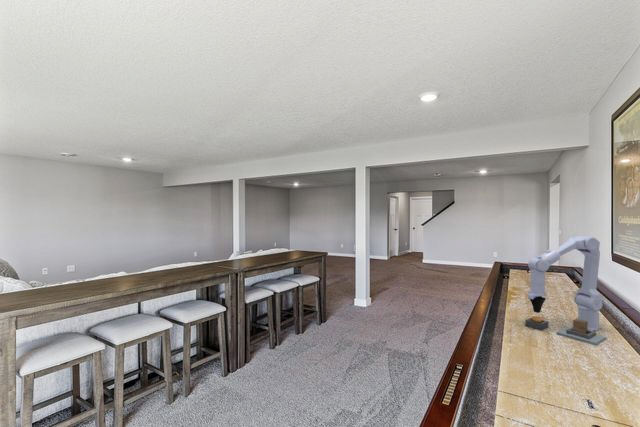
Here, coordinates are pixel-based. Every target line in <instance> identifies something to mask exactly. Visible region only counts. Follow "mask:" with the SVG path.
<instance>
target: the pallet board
mask: <svg viewBox="0 0 640 427" xmlns="http://www.w3.org/2000/svg"><path fill="white" fill-rule="evenodd" d="M555 333H556V335H557V336H561V337H564V338H568V339H571V340H575V341H580V342H583V343H587V344H590V345H594V346H598V345H599V344H601V343H602V342H605V341H606V340H607V336H606V335H602V334H597V332H596V331H593V330H589V329H588V334H583V333H579V332H576V331H573V326H571V327H570V326H566V327H564V328H562V329H560V330H557V331H556V332H555Z"/></svg>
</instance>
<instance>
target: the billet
mask: <svg viewBox="0 0 640 427" xmlns="http://www.w3.org/2000/svg"><path fill="white" fill-rule="evenodd" d="M572 327H573V331H576V332H579V333H583V334H588V330H589V329H588V321H585V320H581V319H578V318H574V319H573V322H572Z"/></svg>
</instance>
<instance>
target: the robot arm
mask: <svg viewBox="0 0 640 427" xmlns="http://www.w3.org/2000/svg"><path fill="white" fill-rule="evenodd" d="M574 250H577V251H578V252H580V253H581V254H582V255H583V256H584V260H583V261H584V262H583V271H582V280H581V287H579V288H578V289H577V290H576V294H575V295H574V298H573V300H574V303H575V304H576V307H577V310H578V311H577V319H581V320H585V321H588V330H589V331H594V332H596V331H598V330H600V329H602V328H603V326H601V325H600V313H599V312H600V310H602V307H603V305H604V304H603V301H602V295H601V293H600V292H599V291H598V290H597V286H598V277H599V268H600V259H601V252H600V241H599V240H598V239H597V238H596V237H594V236H584V235H583V236H582V235H573V236H571V237H569V238H568V240H567V241H565V242H564V243H563V244H562V245H559V246H558V247H557V248H555V249H547V250H546V251H545V252H544V253H542V254H540V255H538V256H537V257H533V258H531V259H530V260H529V261H528V263H527V267H528V268H529V272H530V284H529V286H530V288H529V290H528V291H527V294H528V295H527V299H529V300H530V303H531V305H532V311H533V312H534V313H536V314H540V313H541V310H542V307H543V304H544V302H545V301H546V299H547V298H546V296H547V291H546V272H547V271H548V270H549V268H550V266H551V265H554V263H557V262H558V261H559V260H561V256H564V255H566V254H567V253H569V252H571V251H574Z"/></svg>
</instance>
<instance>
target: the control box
mask: <svg viewBox="0 0 640 427" xmlns="http://www.w3.org/2000/svg"><path fill="white" fill-rule="evenodd" d="M524 321H525V322H524V324H525V327H529V328H532V329H535V330H539V331H544V330H546V329H549V321H547V320H544V319H542V323H538V322H535V321H532V317H529V318H526V319H525V320H524Z"/></svg>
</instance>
